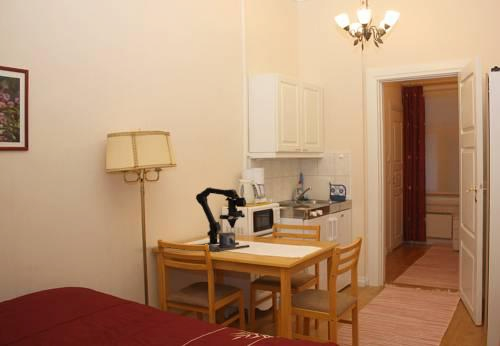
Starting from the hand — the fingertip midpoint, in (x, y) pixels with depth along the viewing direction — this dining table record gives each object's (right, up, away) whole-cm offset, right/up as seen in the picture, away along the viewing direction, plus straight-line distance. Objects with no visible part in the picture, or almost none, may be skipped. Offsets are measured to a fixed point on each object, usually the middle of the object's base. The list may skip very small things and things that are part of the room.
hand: (232, 227), depth 343 cm
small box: (-3, -13, -15) cm, 20 cm away
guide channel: (-3, -12, -14) cm, 19 cm away
